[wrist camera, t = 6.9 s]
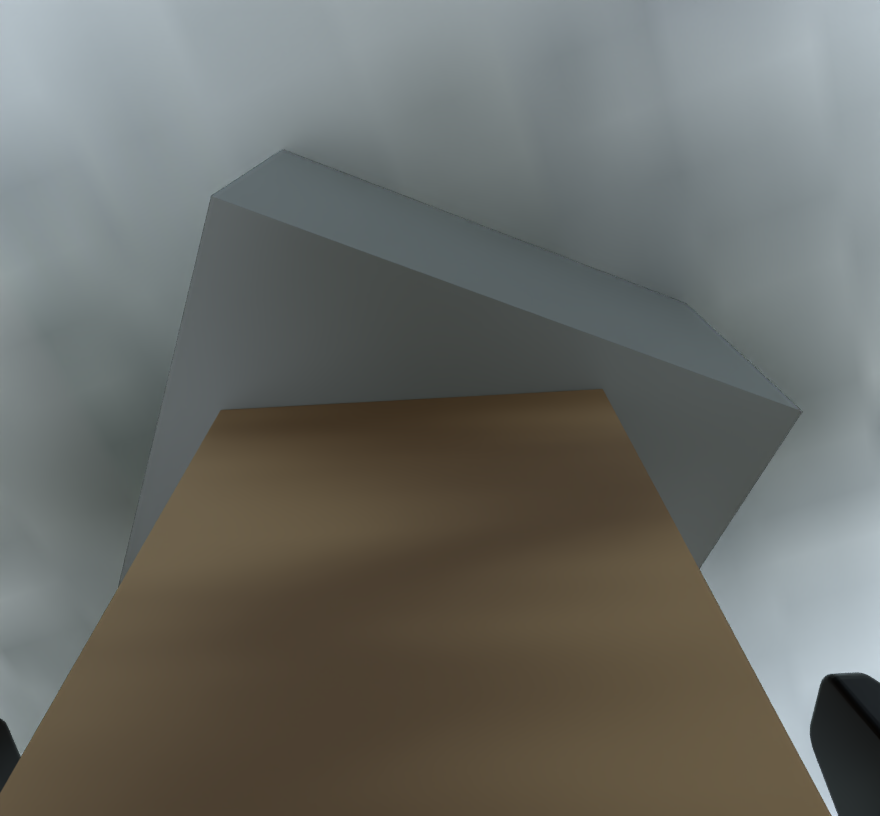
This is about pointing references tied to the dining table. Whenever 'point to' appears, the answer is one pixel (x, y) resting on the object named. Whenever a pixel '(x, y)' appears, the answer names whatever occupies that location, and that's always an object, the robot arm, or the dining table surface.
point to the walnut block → (414, 633)
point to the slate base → (445, 337)
